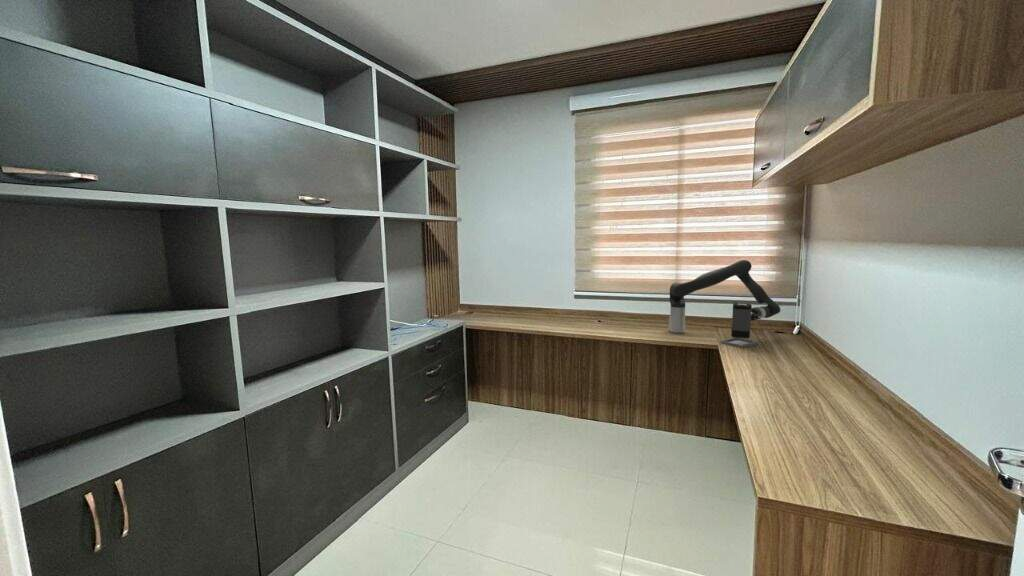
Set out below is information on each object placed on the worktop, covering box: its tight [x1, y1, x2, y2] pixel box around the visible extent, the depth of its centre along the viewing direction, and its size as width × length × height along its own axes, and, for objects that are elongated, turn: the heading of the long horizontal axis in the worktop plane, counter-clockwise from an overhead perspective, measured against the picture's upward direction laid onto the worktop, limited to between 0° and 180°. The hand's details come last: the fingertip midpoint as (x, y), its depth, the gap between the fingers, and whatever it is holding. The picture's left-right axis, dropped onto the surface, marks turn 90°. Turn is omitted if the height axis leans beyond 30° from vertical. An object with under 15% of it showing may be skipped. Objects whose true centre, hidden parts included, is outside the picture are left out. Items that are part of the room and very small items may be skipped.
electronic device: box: [730, 302, 753, 340], centre depth 231 cm, size 9×6×20 cm, turn 61°
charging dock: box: [719, 337, 759, 349], centre depth 234 cm, size 13×16×2 cm
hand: (739, 317), depth 232 cm, fingers closed on electronic device, 5 cm apart
